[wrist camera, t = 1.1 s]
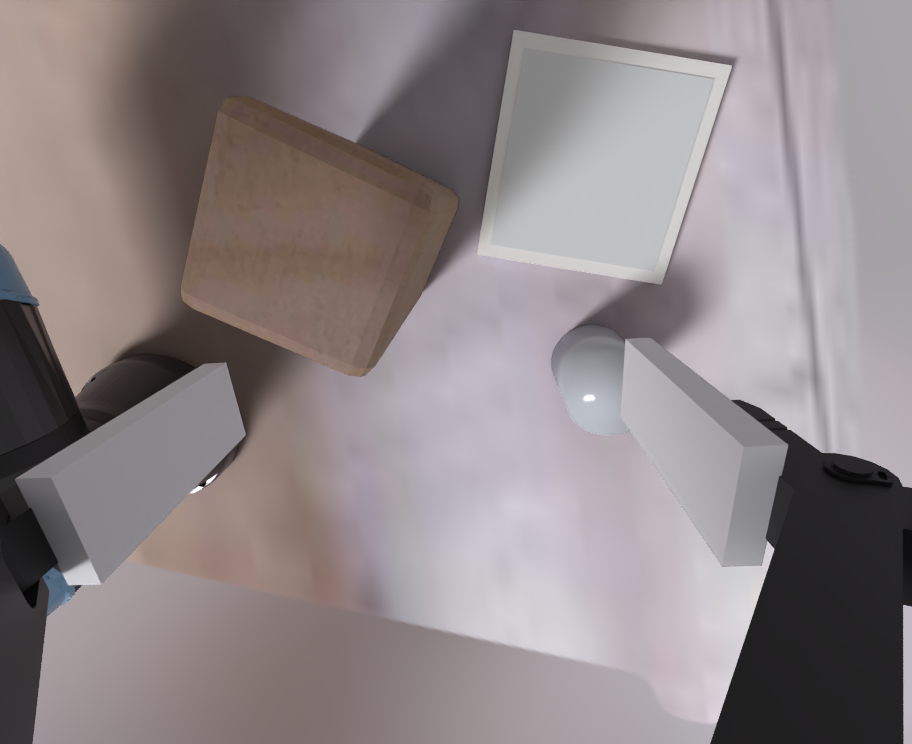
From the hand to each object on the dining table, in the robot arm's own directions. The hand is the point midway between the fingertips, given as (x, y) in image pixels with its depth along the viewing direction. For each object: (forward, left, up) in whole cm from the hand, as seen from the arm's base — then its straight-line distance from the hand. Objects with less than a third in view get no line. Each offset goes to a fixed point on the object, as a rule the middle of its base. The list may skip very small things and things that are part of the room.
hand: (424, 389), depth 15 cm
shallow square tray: (+9, +10, -26) cm, 30 cm away
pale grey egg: (+13, -6, -27) cm, 30 cm away
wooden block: (-7, +3, -27) cm, 28 cm away
